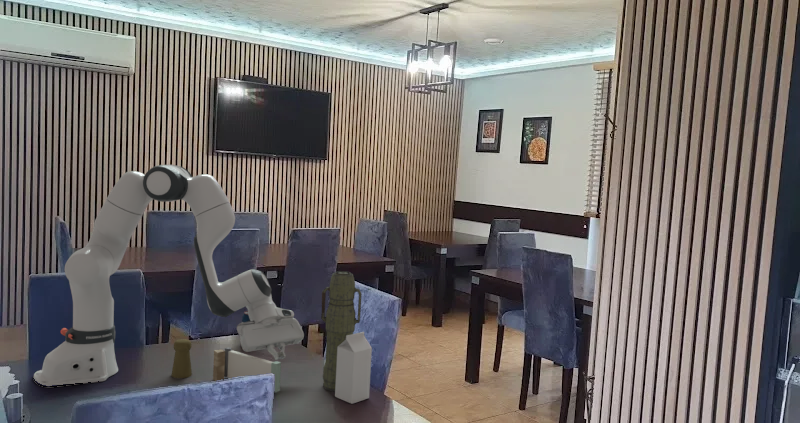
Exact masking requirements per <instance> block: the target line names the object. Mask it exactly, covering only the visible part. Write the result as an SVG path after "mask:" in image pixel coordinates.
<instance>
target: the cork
mask: <svg viewBox="0 0 800 423" xmlns="http://www.w3.org/2000/svg"><path fill="white" fill-rule="evenodd" d="M192 345H193V344H192V342H191V340H190V339H186V338H180V339H176V340H175V341H174V342H173V350H174V351H175V352H174V357H173V364H172V370H171V373H170V374H171V375H170V377H172V378H174V379H187V378H190V377H192V375H193V371H192V370H193V369H192V363H191V362H192V361H191V355H190V354H191V353H190V350H191V349H192Z"/></svg>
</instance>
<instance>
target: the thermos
mask: <svg viewBox="0 0 800 423" xmlns="http://www.w3.org/2000/svg"><path fill="white" fill-rule="evenodd" d="M327 291H328V293H329V294H328V296H329V297H328V298H329V302H328V307H327V310H326V295H327V294H326V293H327ZM355 293H357V294H358V301H357V302H358V304H357V305H358V306H357V318H356V309H355V303H354V301H355ZM361 308H362V291H361V289H360V288H357V287H356V281H355V278H354V274H353V273H351V272H350V271H346V270H345V271H344V270H343V271H342V270H339V271H335V272H333V273H332V275H331V277H330V281H329V286H326V287H324V289H322V292H321V320H322V322H324V323H325V331H326V346H325V347H326V348H325V361H324V364H323V369H322V370H323V371H322V372H323V373H322V379H323V382H322V387H323V389H325V390H327V391H330V392H335V385H336V366H337V347H338V346H339V345H340V344H341V343H342V342H344V341H345V340H346V336H347V335H352V334H354V332H355V331H356V330H355V329H356V325H357V324H360V321H361V314H362V312H361ZM325 314H326V315H325Z"/></svg>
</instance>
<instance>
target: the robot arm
mask: <svg viewBox="0 0 800 423" xmlns="http://www.w3.org/2000/svg"><path fill="white" fill-rule="evenodd" d="M153 200H154V201H156V202H162V203H163V202H164V203H165V202H166V203H167V202H168V203H171V202H176V201H180V200H182V201H183V202H185V203H186V204H187V205H188V206H189V208H190V210H191V212H192V214H193V216H194V218H195V222H196V224H197V225H196V226H197V231H196V232H197V233H196V235H195V236H194V237H193V247H194V252H195V256H196V258H197V260H196V261H197V264H198V267H199V271H200V275H201V278H202V283H203V286H204V290H205V295H206V302H207V306H208V308H209V310H210V312H211V313H212V314H213V315H214V316H218V317H221V318H228V316H231V315H233V314H234V313H236V312H238V310H241V309H243V308H246V309H247V311H248V315H249V318H250V321H248V322H242V321H241V322H239V323H238V324H237V326H236V331H237V333H238V335H239V341H240V346H241V348H242V350H243V351H244V352H245V353H249V352H255V351H260V350H261V351H262V350H267V352H268V353H269V354H270V355H272V356H273V359H274V361H279V360H284V359H285V358H286V357H287V356H286V353H285V350H286V346H291V345H297V344H300V343H301V342H302V340H303V339H304V337H305V333H304V331H303V328H302V326H301V324H300V323H299V320H298V319H296V317H295V318H294V316H295V313H294V311H293V310H290V309H285V308H281V307H277V305H276V303H275V302H274V301H273V298H272V297H273V296H272V291H273V290H272V287H271V284H270V282H269V280H268V277H267V276H266V274H265V273H264V272H263V271H261V270H257V269H255V268H252V269H249V270H246V271H244V272H241V273H240V274H238V275H235V276H233V277H231V278H229V279H226V280H225V281H223V282H220V281H219V280H218V275H217V271H216V268H215V264H214V260H213V253H214V251H215V249H216V247H217V246H218V245H219V244H220V243H222V241H223V240H224V239H225V238H226V237H227V236H228V235H229V234H230V232H231V231H232V230H233V229H234V226H235V223H236V216H235V212H234V209H233V207H232V205H231V203H230V200H229V198H228V196H227V195H226V193H225V191H224V190H223V188H222V186H221V184H219V182H218V180H217V179H216V177H214V176H213V175H212V174H211V175H210V174H205V173H203V174H197V175H195V176H192V173H191V172H190V171H189V170H188V169H187V168H185V167H183V166H179V165H175V164H158V165H155V166H153V167H151V168H149V170H147V171H146V173H142V172H140V171H135V170H131V171H126V172H125V173H124V174H122V176H121V177H120V178H119V179H118V180H117V181H116V182H115V184H114V186H113V188H111V191H110V192H109V194H108V195H107V197H106V199H105V201H104V202H103V205H102V207H101V208H100V210H99V212H98V214H97V216H96V218H95V220H94V222H93V228H92V229H93V230H92V232H91V235H90V238H89V241H88V242H87V244H85V246H84V247H83V248H81V249H77V250H76V251H74V252H73V253H72V254H71V255H70V256H69V258H68V259H67V261H66V262H65V265H64V274H65V277H66V278H67V280H68V282H69V283H68V284H69V288H70V292H71V297H72V327H70V328H69V329H68V328H66V327H63V328H61V330H60V334H61V335H62V336H64V337H65V341H63V342H62V343H61V344H59V345H58V346H57V347H55V348H54V349H53V350H51V351H50V352H49V353H47V354H46V355H45V357H44V360H43V363H42V368H41V369H40V370H37V371H36V372H35V373H33V378H34V379H35V381H37V382H38V383H40V384H42V385H46V386H52V385H63V384H74V385H76V384H75V383H83V384H89V383H88V382H91V383H99V382H105V381H107V379H109V377H112V376H113V375H116V374H117V373H118V372H119V367H118V364H117V360H116V354H115V342H116V326H115V322H114V318H115V316H114V315H115V314H114V313H115V312H114V311H115V300H114V297H113V296H112V291H111V285H110V276H112V275H113V274H115V273H116V272H117V271H118V269H119V267H120V266H121V264H122V260H123V259H124V257H125V253H126V251H127V249H128V246H129V243H130V241H131V238H132V236H133V234H134V232H135V231H136V228H137V226H138V224H139V223H140V221H141V218H143V215H144V213H145V211H146V209H147V208H148V206H149V204H150V203H151V202H152V201H153ZM275 348H277V349H278V350H279V351H277V350H276V349H275ZM34 379H33V380H34ZM35 381H34V382H35ZM98 381H99V382H98Z"/></svg>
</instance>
